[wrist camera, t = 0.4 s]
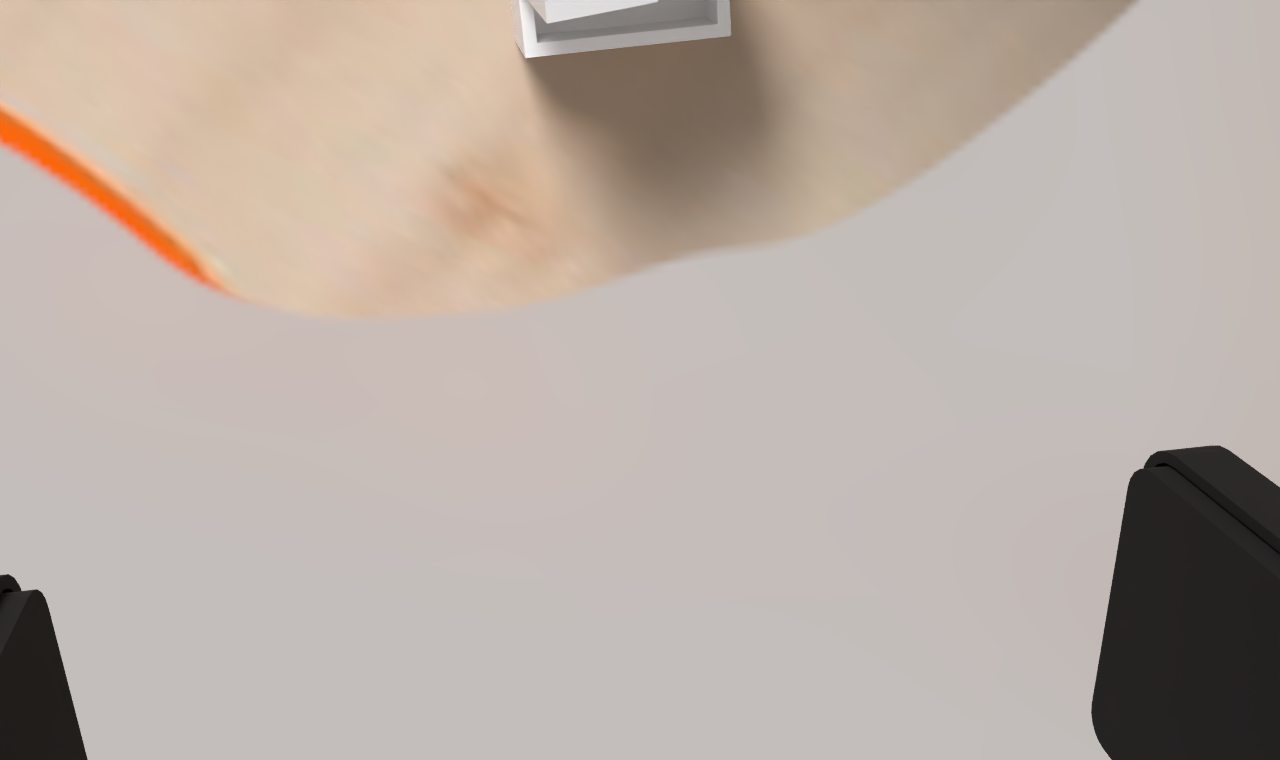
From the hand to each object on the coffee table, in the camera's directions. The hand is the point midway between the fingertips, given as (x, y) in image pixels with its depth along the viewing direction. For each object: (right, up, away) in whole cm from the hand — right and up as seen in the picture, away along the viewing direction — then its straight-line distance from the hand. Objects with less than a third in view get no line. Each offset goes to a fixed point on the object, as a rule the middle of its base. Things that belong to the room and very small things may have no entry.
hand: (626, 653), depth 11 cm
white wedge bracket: (-1, +15, +25) cm, 29 cm away
